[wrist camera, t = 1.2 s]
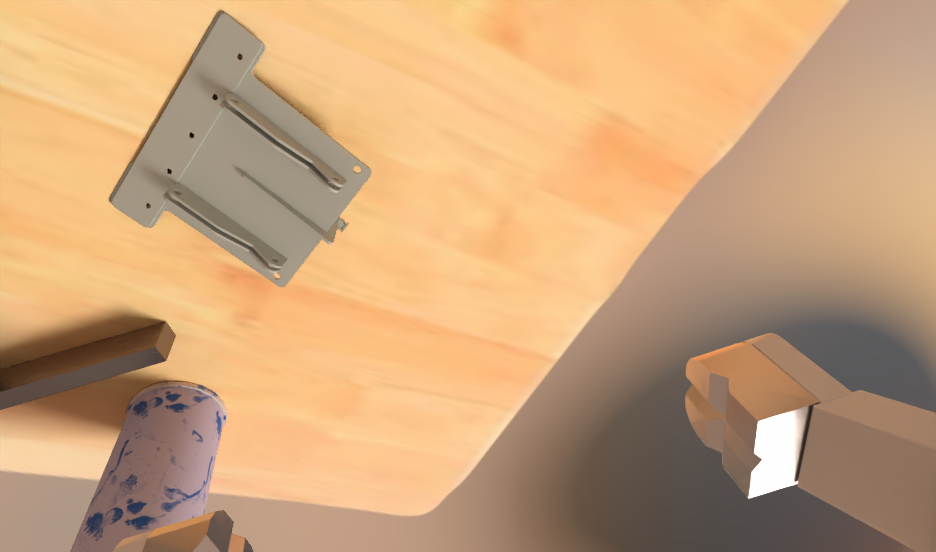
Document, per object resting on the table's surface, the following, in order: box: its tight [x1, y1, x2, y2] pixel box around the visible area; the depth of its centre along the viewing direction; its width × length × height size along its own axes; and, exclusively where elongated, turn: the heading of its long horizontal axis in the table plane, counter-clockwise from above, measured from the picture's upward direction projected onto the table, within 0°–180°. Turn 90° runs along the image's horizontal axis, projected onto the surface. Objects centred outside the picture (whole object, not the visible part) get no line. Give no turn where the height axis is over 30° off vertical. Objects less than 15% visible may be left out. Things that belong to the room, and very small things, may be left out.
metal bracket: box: [110, 11, 372, 287], centre depth 35 cm, size 14×6×15 cm
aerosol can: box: [70, 381, 227, 552], centre depth 38 cm, size 8×8×20 cm
